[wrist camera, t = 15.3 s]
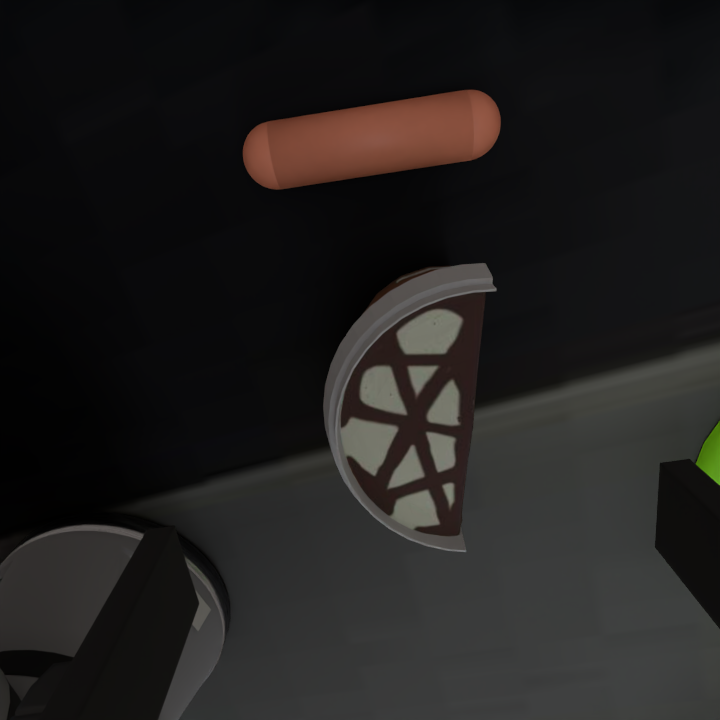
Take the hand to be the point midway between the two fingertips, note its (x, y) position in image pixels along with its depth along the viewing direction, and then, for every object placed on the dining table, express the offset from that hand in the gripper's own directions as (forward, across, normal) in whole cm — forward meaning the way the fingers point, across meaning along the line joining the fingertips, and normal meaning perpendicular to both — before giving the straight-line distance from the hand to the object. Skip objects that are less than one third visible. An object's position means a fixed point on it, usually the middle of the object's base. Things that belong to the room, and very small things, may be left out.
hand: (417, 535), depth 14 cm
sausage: (+16, +1, +11) cm, 19 cm away
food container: (+16, 0, 0) cm, 16 cm away
